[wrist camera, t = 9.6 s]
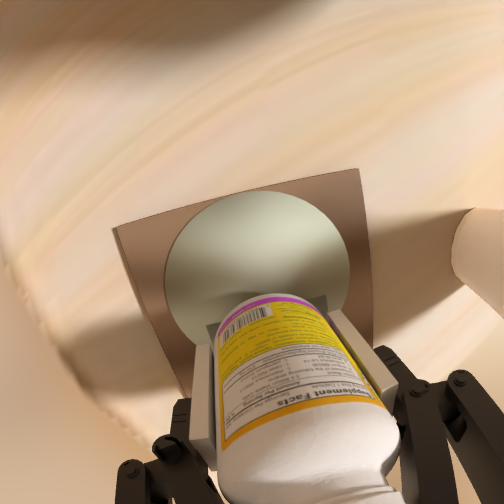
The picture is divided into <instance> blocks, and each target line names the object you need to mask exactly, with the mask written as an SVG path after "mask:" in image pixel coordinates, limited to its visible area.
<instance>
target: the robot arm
mask: <svg viewBox="0 0 504 504" xmlns="http://www.w3.org/2000/svg"><path fill="white" fill-rule="evenodd" d="M327 315H328V324H329V326H330V327H331V328H332V330H333V331H334V333H335V334H336V336H337V337H338V339H339V340H340V341H341V343H342V344H343V346H344V347H345V348H346V350H347V351H348V353H349V354H350V356H351V357H352V359H353V360H354V362H355V363H356V365H357V366H358V367H359V369H360V370H361V372H362V373H363V375H364V376H365V378H366V379H367V381H368V382H369V384H370V385H371V387H372V388H373V390H374V391H375V393H376V394H377V396H378V397H379V398H380V400H381V401H382V403H383V404H384V406H385V407H386V409H387V410H388V412H389V413H390V415H391V416H392V417H393V416H394V417H395V419H396V420H397V423H396V424H397V426H398V429H399V432H400V436H401V448H400V453H399V456H400V467H401V479H402V493H403V494H404V497H405V500H406V502H407V504H459V502H458V495H457V488H456V483H455V477H454V471H453V465H452V460H451V456H450V451H449V447H448V442H447V439H448V441H449V443H450V444H451V446H452V448H453V450H454V452H455V453H456V455H457V457H458V459H459V461H460V462H461V464H462V466H463V468H464V470H465V472H466V474H467V476H468V478H469V479H470V481H471V483H472V485H473V487H474V489H475V491H476V493H477V495H478V497H479V499H480V501H481V504H504V414H503V412H502V411H501V410H500V408H499V407H498V406H497V404H496V403H495V402H494V401H493V399H492V398H491V397H490V396H489V394H488V393H487V392H486V391H485V390H484V388H483V387H482V386H481V385H480V383H479V382H478V381H477V380H476V379H475V377H474V376H473V375H472V374H471V373H469V372H468V371H466V370H456V371H453V372H452V373H451V374H450V375H449V377H448V379H447V381H442V382H438V383H432V384H430V383H428V382H427V381H425V380H421V379H417V378H416V377H415V376H414V375H413V373H412V372H411V371H410V370H409V369H408V368H407V366H406V365H405V364H404V363H403V362H401V360H400V358H399V357H397V355H396V354H395V353H394V352H393V350H392V349H390V348H388V347H386V346H384V345H382V346H379V347H377V348H374V349H372V348H371V347H370V346H369V345H368V343H367V342H366V341H365V340H364V338H363V337H362V336H361V335H360V333H359V332H358V331H357V330H356V329H355V327H354V326H353V325H352V324H351V322H350V321H349V320H348V319H347V317H346V316H345V315H344V314H343V313H342V311H341V310H340V309H338V310H335V311H332V312H329V313H327ZM172 416H173V417H172V421H171V422H172V423H171V429H170V434H167V435H163V436H161V437H159V438H158V439H157V440H156V441H155V442H154V444H153V446H152V452H153V453H154V454H155V455H156V456H157V457H158V459H156V460H154V461H151V462H147V463H144V464H143V463H142V462H140V461H139V460H134V459H131V460H127V461H125V462H124V463H122V464H121V465H120V467H119V469H118V474H117V484H116V496H115V504H172V498H174V500H175V503H176V504H224V502H223V500H222V499H221V497H220V495H219V493H218V491H217V489H216V487H215V485H214V483H213V481H212V479H211V478H210V476H209V475H208V467H209V468H210V470H211V471H217V449H216V418H215V381H214V354H213V351H212V349H211V346H210V343H207V344H202V345H197V346H196V354H195V365H194V376H193V388H192V398H185V399H178V401H177V402H176V404H175V405H174V407H173V414H172ZM446 437H447V438H446Z"/></svg>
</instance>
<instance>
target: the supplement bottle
mask: <svg viewBox="0 0 504 504" xmlns="http://www.w3.org/2000/svg"><path fill="white" fill-rule="evenodd" d="M214 381H215V418H216V449H217V477H218V484H219V488H220V490H221V492H222V494H223V496H224V498H225V499H226V500H227V501H228V502H229V503H230V504H407V502H406V500H405V497H404V494H403V493H401V492H397V491H396V489H395V488H394V487H391V486H389V485H388V482H387V480H386V476H387V475H388V473H389V472H390V471H391V469H392V468H393V466H394V464H395V463H396V461H397V458H398V456H399V453H400V448H401V436H400V432H399V429H398V426H397V424H396V423H395V421H394V419H393V418H392V416H391V415H390V413H389V412H388V410H387V409H386V407H385V406H384V404H383V403H382V401H381V400H380V398H379V397H378V396H377V394H376V393H375V391H374V390H373V388H372V387H371V385H370V384H369V382H368V381H367V379H366V378H365V376H364V375H363V373H362V372H361V370H360V369H359V367H358V366H357V365H356V363H355V362H354V360H353V359H352V357H351V356H350V354H349V353H348V351H347V350H346V348H345V347H344V346H343V344H342V343H341V341H340V340H339V339H338V337H337V336H336V334H335V333H334V331H333V330H332V328H331V327H330V326H329V324H328V323H327V321H326V320H325V318H324V317H323V316H322V315H321V313H320V312H319V311H318V310H317V309H316V307H314V306H313V305H312V304H311V303H309V302H308V301H306V300H304V299H302V298H300V297H297V296H295V295H291V294H282V293H272V294H264V295H260V296H257V297H254V298H251V299H249V300H246V301H245V302H243V303H241V304H240V305H238V306H237V307H235V308H234V309H233V310H232V311H231V312H230V313H229V314H228V315H227V316H226V317H225V318H224V320H223V321H222V323H221V324H220V326H219V328H218V331H217V333H216V336H215V342H214Z"/></svg>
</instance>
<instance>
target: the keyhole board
mask: <svg viewBox="0 0 504 504" xmlns="http://www.w3.org/2000/svg"><path fill="white" fill-rule="evenodd" d="M116 228H117V231H118V235H119V238H120V241H121V244H122V247H123V250H124V253H125V256H126V259H127V262H128V264H129V267H130V270H131V273H132V276H133V278H134V281H135V284H136V286H137V289H138V291H139V294H140V297H141V299H142V302H143V304H144V306H145V309H146V311H147V314H148V316H149V319H150V321H151V323H152V325H153V328H154V330H155V332H156V335H157V337H158V339H159V341H160V343H161V346H162V348H163V350H164V352H165V354H166V356H167V358H168V360H169V362H170V365H171V367H172V369H173V371H174V373H175V375H176V377H177V378H178V380H179V382H180V384H181V386H182V388H183V390H184V392H185V394H186V396H187V397H188V398H192V388H193V376H194V365H195V354H196V346H197V345H202V344H207V343H210V346H211V349H212V351H213V354H214V342H215V336H216V333H217V331H218V328H219V326H220V324H221V323H222V321H223V320H224V318H225V317H226V316H227V315H228V314H229V313H230V312H231V311H232V310H233V309H234V308H235V307H237V306H238V305H240V304H241V303H243V302H245V301H246V300H249V299H251V298H254V297H257V296H260V295H264V294H272V293H282V294H291V295H295V296H297V297H300V298H302V299H304V300H306V301H308V302H309V303H311V304H312V305H313V306H314V307H316V309H317V310H318V311H319V312H320V313H321V315H322V316H323V317H324V318H325V320H326V321H327V323H328V315H327V313H329V312H332V311H335V310H338V309H340V310H341V311H342V313H343V314H344V315H345V316H346V317H347V319H348V320H349V321H350V322H351V324H352V325H353V326H354V327H355V329H356V330H357V331H358V332H359V333H360V335H361V336H362V337H363V338H364V340H365V341H366V342H367V343H368V345H369V346H370V347H371V348H372V349H373V304H372V281H371V265H370V252H369V241H368V231H367V222H366V214H365V206H364V198H363V192H362V185H361V179H360V173H359V169H350V170H344V171H339V172H333V173H328V174H323V175H317V176H312V177H307V178H302V179H297V180H293V181H288V182H283V183H279V184H274V185H270V186H265V187H261V188H256V189H252V190H248V191H244V192H239V193H235V194H231V195H227V196H223V197H219V198H215V199H211V200H207V201H204V202H200V203H196V204H192V205H189V206H185V207H181V208H178V209H174V210H171V211H167V212H164V213H160V214H157V215H153V216H150V217H146V218H143V219H140V220H137V221H133V222H130V223H127V224H124V225H120V226H118V227H116Z"/></svg>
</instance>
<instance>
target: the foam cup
mask: <svg viewBox="0 0 504 504" xmlns="http://www.w3.org/2000/svg"><path fill="white" fill-rule="evenodd" d="M451 264H452V267H453V270H454V273H455V275H456V276H457V277H458V278H460V280H461V281H462V282H463V283H465V284H466V285H467V286H468V287H469V288H470V289H472V290H473V291H474V292H475V293H476V294H477V295H478V296H480V297H481V298H482V299H483V300H484V301H485V302H486V303H487V304H489V305H490V306H491V307H492V308H493V309H494V310H495V311H496V312H497V313H498V314H499V315H500V316H501V317H502V318H503V319H504V210H498V209H487V208H473V209H472V210H470V211H469V212H468V213H467V214H465V215H464V217H463V218H462V220H461V222H460V224H459V225H458V227H457V229H456V232H455V236H454V240H453V243H452V247H451Z"/></svg>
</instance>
